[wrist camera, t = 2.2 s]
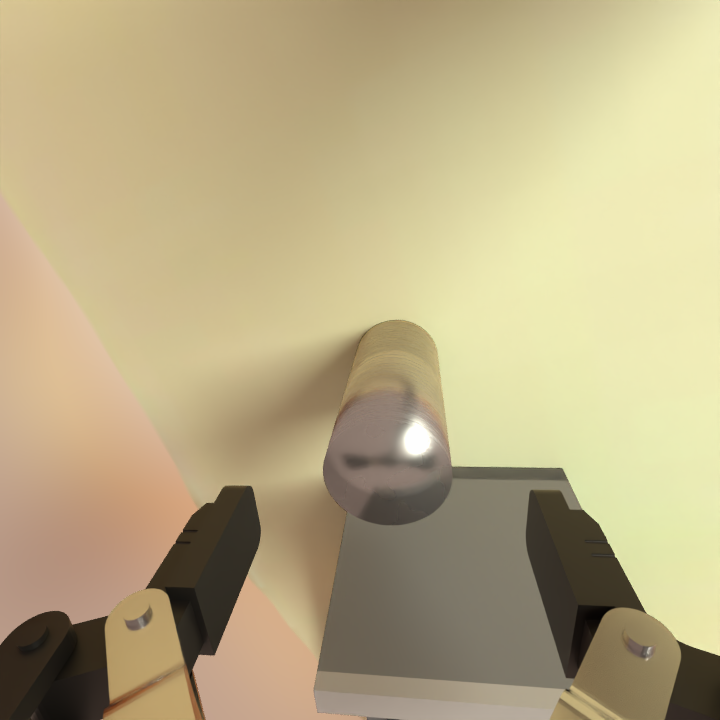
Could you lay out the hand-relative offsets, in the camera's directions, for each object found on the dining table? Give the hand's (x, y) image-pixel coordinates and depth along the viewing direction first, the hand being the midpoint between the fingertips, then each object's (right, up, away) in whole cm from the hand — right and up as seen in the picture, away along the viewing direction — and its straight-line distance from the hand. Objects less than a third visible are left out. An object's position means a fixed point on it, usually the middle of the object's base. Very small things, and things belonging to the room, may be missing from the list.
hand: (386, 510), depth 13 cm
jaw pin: (+1, +4, +9) cm, 10 cm away
